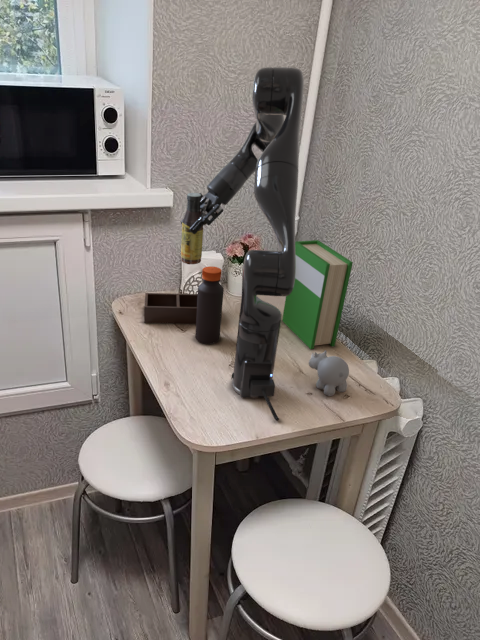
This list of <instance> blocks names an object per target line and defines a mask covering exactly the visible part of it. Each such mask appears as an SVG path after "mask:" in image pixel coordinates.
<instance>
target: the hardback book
mask: <svg viewBox="0 0 480 640" xmlns="http://www.w3.org/2000/svg"><path fill="white" fill-rule="evenodd" d="M295 252H296V275H295V284H294V288H293V291H292V293H291V294H290V295H288V296H285V300H284V306H283V313H282V319H281V322H283V323H284V324H285V326H287V327H288V329H290V331H292V332H293V334H294V335H296V336H297V337H298V338H299V340H301V341H302V342H303V343H304V344H305V345H306V346H307V347H308V348H309V349H310V350H314V349H315V346H322V345H329V346H330V347H335V346H336V341H337V337H338V333H339V327H340V323H341V319H342V314H343V309H344V304H345V301H346V296H347V291H348V287H349V282H350V277H351V273H352V270H353V269H352V267H353V263H354V262H353V261H351V260H350V259H349V258H347V257H346V256H344V255H342V254H340V253H339V252H337V250H335V249H333V248H331V247H330V246H328V245H327V244H325V243H324V242H322V241H320V240H319V239H314V240H300V241H297V240H296V241H295Z"/></svg>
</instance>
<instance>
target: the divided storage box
mask: <svg viewBox="0 0 480 640" xmlns="http://www.w3.org/2000/svg"><path fill="white" fill-rule="evenodd" d="M197 296H198V293H171V292H170V293H169V292H168V293H166V292H165V293H163V292H145V294H144V305H143V319H144V321H143V323H144V324H173V325H174V324H176V325H177V324H180V325H182V324H183V325H196V315H197Z"/></svg>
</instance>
